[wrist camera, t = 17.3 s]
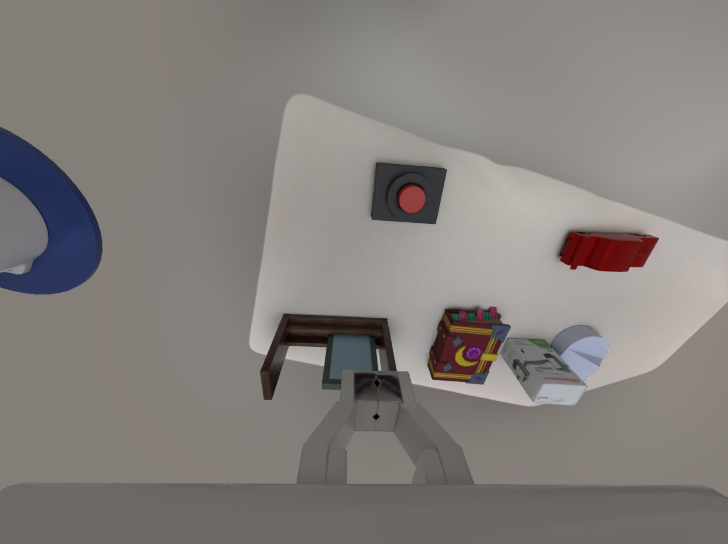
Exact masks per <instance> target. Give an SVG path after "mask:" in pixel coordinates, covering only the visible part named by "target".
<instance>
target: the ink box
mask: <svg viewBox="0 0 728 544" xmlns="http://www.w3.org/2000/svg"><path fill="white" fill-rule="evenodd" d="M501 356H502V357H503V359H504V360H505V361H506V363H507V364H508V366H509V367H510V369H511V370H512V372H513V373H514V375H515V376H516V378H517V379H518V381H519V382H520V384H521V385H522V387H523V388H524V390H525V391H526V393H527V394H528V396H529V397H530V399H531V400H532V401H533V402H535V403H546V404H561V405H575V404H576V403H577V402H578V400H579V399H580V397H581V396H582V394H583V393H584V392H585V390H586V389H587V387H588V386H587V385H586V384H585V383H584V382H583V381H582V380H581V379H580V377H579V376H578V375H577V374H576V373H575V372H574V371H573V370H572V369H571V368H570V367H569V366H568V365H567V364H566V362H565V361H564V360H563V359H562V358H561V357H560V356H559V355H558V354H557V353H556V352H555V351H554V350H553V349H552V347H551V346H550V345H549V344H548V343H547V342H546V341H545V340H530V339H514V338H508V339H507V341H506V343H505V346H504V348H503V350H502V353H501Z"/></svg>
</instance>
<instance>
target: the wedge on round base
mask: <svg viewBox="0 0 728 544" xmlns="http://www.w3.org/2000/svg"><path fill="white" fill-rule="evenodd" d="M551 347H552V349H553V350H554V351H555V352H556V353H557V354H558V355H559V356H560V357H561V358H562V359H563V360H564V361H565V362H566V364H567V365H568V366H569V367H570V368H571V369H572V370H573V371H574V372H575V373H576V374H577V375H578V376H579V377H580V379H581V380H582V381H583V382H584V381H585V380H586V379H587V378H588V377H589V376H590V375H591V374H592V373H593V372H594V371H595V370H596V369H597V368H598V367H599V366H600V363H601V361H602V359H603V358H604V357H605V355H606V354H607V352H608V349H609V344H608V342H607V341H606V340H605V339H604V338H603V337H602V336H600V335H599V334H598V333H597V332H595V331H594V330H593V329H591V328H590V327H588V326H582V325H580V326H574V327H570V328H568V329H566V330H564V331H562V332H561V333H560V334H558V335H557V336H556V338H555V339H554V340H553V342H552V345H551Z"/></svg>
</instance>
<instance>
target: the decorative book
mask: <svg viewBox="0 0 728 544" xmlns="http://www.w3.org/2000/svg"><path fill="white" fill-rule="evenodd" d="M500 318H501V315H500V314H498V313H497V312H496V307H490V313H488V312H484V310H478V309H477V313H475V312H465V311H454V310H446V311H445V314H444V318H443V321H440V323H439V326H438V329H437V330H438V332H439V333H438V336H437V339H436V342H435V345H434V347H431V350H430V353H429V354H430V360H429V363H428V368H429V371H430V374H431V377H432V380H444V381H458V382H466V383H470V384H484V382H485V380H486V378H487V375H488V373H489V368H490V366H491V364H492V362H493V361H496V359H497V357H498V354H497V352H498V350H499V347H500V345H501V343H503V342H504V340H505V338H506V336H507V334H508V332H509V330H510V328H511V327H510V325H508V324H503V323H502V322H501V321H500Z"/></svg>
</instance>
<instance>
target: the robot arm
mask: <svg viewBox="0 0 728 544" xmlns="http://www.w3.org/2000/svg"><path fill="white" fill-rule="evenodd" d="M47 244H48V231H47V227H46V224H45V222H44V220H43V218H42V216H41V214H40V213H39V211H38V210H37V208H36V207H35V206H34V204H33V203H32V202H31V201H30V200H29V199H28V198H27V197H26V196H25V195H24V194H23V193H22V192H21V191H20V190H19V189H17V188H16V187H15V186H13V185H12V184H11V183H9V182H8V181H6V180H4V179H3V178H1V177H0V273H1V272H8V273H13V274H23V273H27V272H29V271H30V270H31V267H32V264H33V260H34V259H35V258H37V257H38V256H39V255H41V254H42V253H43V252H44V251H45V249H46V247H47ZM340 397H341V398H340V402H336V404H335V405H334V406H333V408H332V409H331V410H330V411H329V413H328V414H327V415H326V417H325V418H324V419H323V420H322V422H321V423H320V424H319V426H318V427H317V428H316V430H315V431H314V432H313V434H312V435H311V436H310V437H309V439H308V440H307V441H306V443H305V444H304V445H303V449H302V454H301V460H300V466H299V472H298V478H297V483H296V484H180V483H178V484H177V483H176V484H175V483H174V484H172V483H169V484H168V483H20V484H15V485H11V486H9V487H6V488H4V489H2V490H0V544H728V497H726V496H724V495H723V494H721V493H719V492H717V491H715V490H714V489H711V488H708V487H705V486H699V485H501V484H500V485H499V484H498V485H496V484H486V485H484V484H480V485H479V484H474V482H473V479H472V477H471V474H470V471H469V468H468V465H467V462H466V460H465V457H464V454H463V451H462V448H461V447H460V446H459V445H458V444H457V443H456V442H455V441H454V440H453V439H452V438H451V436H450V435H449V434H448V433H447V432H446V431H445V430H444V429H443V428H442V427H441V426H440V425H439V424H438V423H437V422H436V420H435V419H434V418H433V417H432V416H431V415H430V414H429V413H428V412H427V411H426V410H425V409H424V408H423V407H422V406H421V405H420V404H417V403H416V400H415V396H414V392H413V387H412V383H411V379H410V375H409V373H408V372H406V371H397V372H396V371H366V370H354V371H353V370H346V369H342V379H341V396H340ZM355 431H390V432H394V434H395V435H396V437H397V438H398V440H399V441H400V443H401V445H402V446H403V448H404V449H405V451H406V452H407V454H408V455H409V457H410V458H411V460H412V461H413V463H414V464H415V466H416V470H415V473H414V476H413V479H412V483H411V484H347V483H346V482H347V451H346V450H345V448H346V446H347V445H348V443H349V441H350V439H351V438H352V436H353V434H354V432H355Z"/></svg>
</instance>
